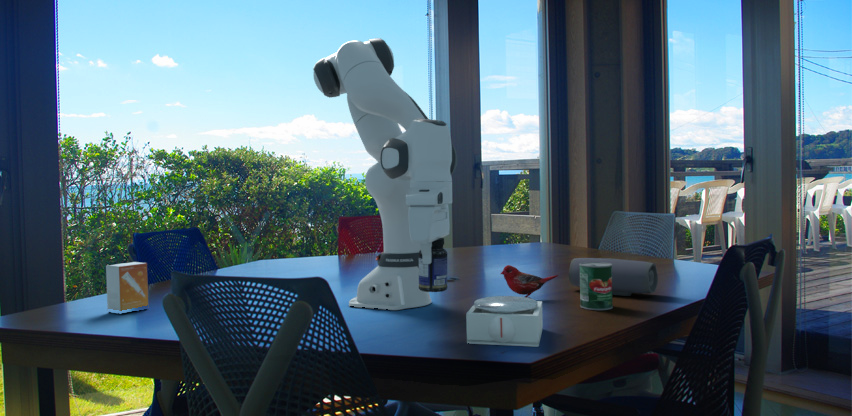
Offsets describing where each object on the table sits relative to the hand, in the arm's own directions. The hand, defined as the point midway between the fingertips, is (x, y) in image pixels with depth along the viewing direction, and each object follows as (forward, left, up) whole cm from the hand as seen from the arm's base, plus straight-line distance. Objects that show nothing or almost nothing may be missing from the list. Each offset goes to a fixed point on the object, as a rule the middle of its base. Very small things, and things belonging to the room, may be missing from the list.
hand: (432, 261), depth 117 cm
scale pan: (+15, +2, -13) cm, 20 cm away
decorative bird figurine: (+17, +40, -16) cm, 46 cm away
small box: (-89, +11, -16) cm, 91 cm away
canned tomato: (+34, +33, -16) cm, 50 cm away
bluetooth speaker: (+39, +52, -16) cm, 67 cm away
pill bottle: (0, 0, -6) cm, 6 cm away
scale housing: (+15, +2, -16) cm, 22 cm away
